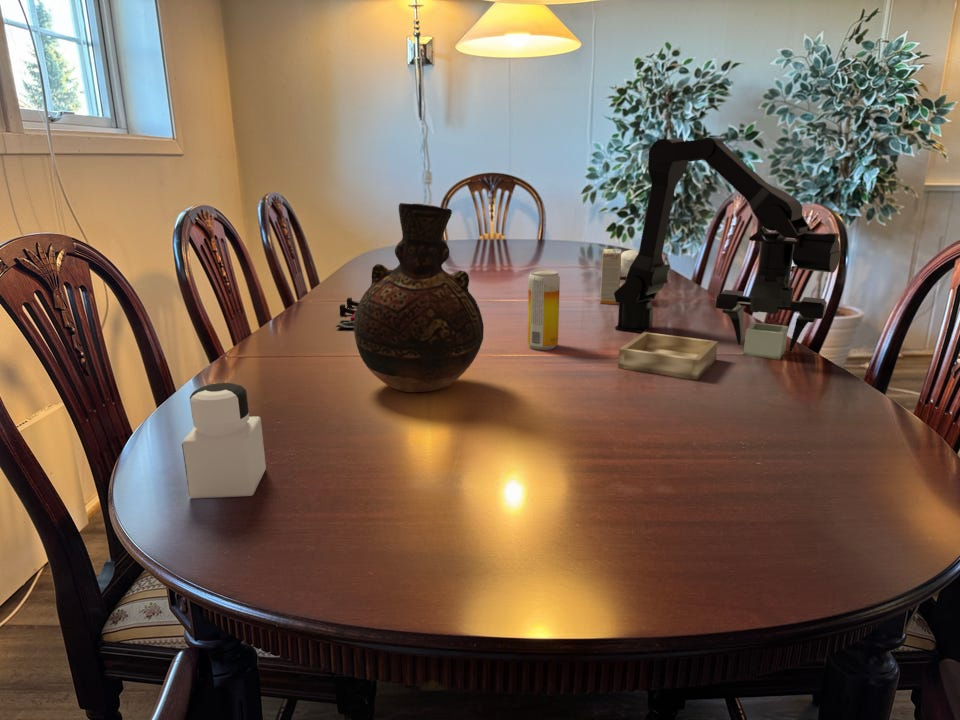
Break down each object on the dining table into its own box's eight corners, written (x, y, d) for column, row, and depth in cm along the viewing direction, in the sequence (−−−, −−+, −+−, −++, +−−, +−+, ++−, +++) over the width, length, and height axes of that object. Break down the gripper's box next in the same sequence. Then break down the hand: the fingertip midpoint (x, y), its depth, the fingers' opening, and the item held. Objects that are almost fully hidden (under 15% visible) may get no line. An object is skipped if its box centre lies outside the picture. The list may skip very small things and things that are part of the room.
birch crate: (618, 367, 123) (619, 349, 122) (643, 349, 135) (644, 331, 134) (697, 380, 116) (698, 360, 115) (716, 359, 128) (717, 341, 127)
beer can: (561, 344, 138) (564, 270, 134) (552, 352, 133) (553, 275, 129) (533, 341, 141) (535, 268, 136) (522, 348, 136) (523, 273, 131)
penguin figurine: (643, 250, 205) (604, 255, 204) (644, 278, 208) (606, 283, 206) (635, 247, 211) (598, 252, 210) (636, 275, 214) (599, 280, 212)
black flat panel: (327, 330, 150) (395, 332, 150) (326, 318, 150) (395, 319, 149) (353, 303, 179) (410, 304, 179) (352, 293, 178) (410, 294, 178)
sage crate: (743, 354, 131) (746, 329, 129) (749, 346, 136) (752, 322, 134) (779, 359, 127) (783, 333, 126) (785, 351, 133) (788, 326, 131)
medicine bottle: (207, 471, 84) (195, 379, 80) (266, 469, 85) (257, 377, 81) (188, 499, 77) (174, 400, 74) (253, 497, 78) (242, 397, 74)
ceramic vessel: (345, 403, 106) (332, 206, 98) (368, 369, 123) (359, 198, 114) (481, 405, 105) (479, 206, 97) (485, 370, 122) (485, 198, 113)
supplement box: (618, 304, 174) (621, 253, 170) (599, 303, 175) (601, 252, 171) (619, 298, 182) (621, 248, 178) (600, 297, 183) (602, 248, 179)
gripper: (712, 269, 125) (705, 351, 129) (826, 277, 116) (813, 365, 120) (726, 260, 134) (718, 337, 138) (832, 268, 125) (820, 350, 129)
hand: (764, 347), depth 131 cm, fingers open, 9 cm apart
